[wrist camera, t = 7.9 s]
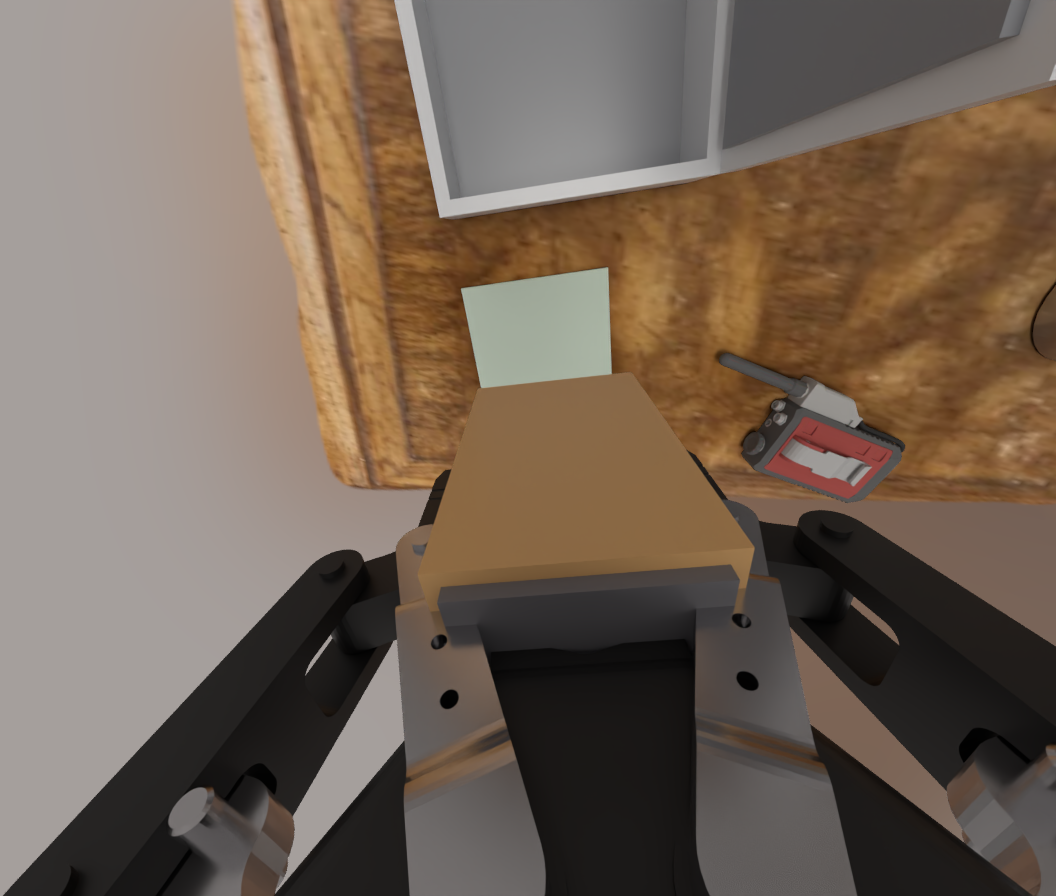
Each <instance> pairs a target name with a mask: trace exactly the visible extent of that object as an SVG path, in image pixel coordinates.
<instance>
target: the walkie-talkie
mask: <svg viewBox="0 0 1056 896" xmlns="http://www.w3.org/2000/svg"><path fill="white" fill-rule="evenodd" d="M719 363H720V364H721V365H723V366H726V367H728V368H731V369H733V370H736V371H738V372H741V373H743V374H746V375H748V376H751V377H753V378H756V379H758V380H761V381H763V382H766V383H768V384H771V385H773V386H776V387H778V388H781V389H783V390H784V392H785V393H787V394H789V396H788V397H787V398H784V399H781V400H780V401H778V400H775V401H774V402H773V403H772V405H771V407H772V408H773V409H774V410H773V411H772V412H771V414H770V415H769V416H768V418H767V419H766V420H765V422H764V423H763V424H762V426H761V427H760V429H759V430H758V431H757V432H752V433H750V434H749V435H748V436H747V437H746V439H745V440H744V444H743V449H744V450H743V452H742V453H741V454H742V456H743V458H744V459H745V460H746V461H747V462H748V463H749V464H750V465H751V467H752V468H753V469H754V470H756V471H759V472H761V473H764V474H767V475H770V476H773V477H775V478H778V479H781V480H784V481H786V482H789V483H792V484H797V485H798V486H802V487H803V488H807V489H809V490H810V489H811V490H812V491H816V492H818V493H821V494H823V495H827V496H828V497H829V496H830V497H832V498H836V499H837V500H841V501H842V502H843V501H844V502H846V503H849V502H856V501H860V500H863V499H864V498H865V497H866V496H867V495H868V494H869V493H870V492H871V491H872V490H873V489H874V488H875V487H876V486H877V485H878V484H879V483H880V482H881V481H882V480H883V479H884V478H885V477H886V476H887V475H888V474H889V473H890V472H891V471H892V470H893V469H894V468H895V467H896V465H897V464H898V463H899V462H900V461H901V457H902V455H901V452H903V451H904V449H905V444H904V443H903V442H902V441H901V440H899V439H897V438H895V437H892V436H890V435H887V434H885V433H883V432H880V431H878V430H875V429H873V428H870V427H868V426H866V425H864V423H863V421H862V419H863V418H861V417H859V416H858V412H857V408H856V404H855V402H854V400H853V399H851V398H849V397H847V396H846V395H844V394H842V393H840V392H837V391H835V390H833V389H830V388H828V387H826V386H824V385H823V384H821V383H819V382H817V381H816V380H814V379H812V378H809V377H807V376H803V377H802V378H801V380H798V379H795V378H791V379H790V378H788V377H785V376H783V375H781V374H778V373H776V372H773V371H771V370H769V369H766V368H764V367H761V366H759V365H756V364H754V363H752V362H749V361H747V360H744V359H742V358H740V357H737V356H735V355H732V354H730V353H724V354H722V355H721V356H720V358H719ZM891 441H892V442H894V443H895V444H894V443H892V442H891Z"/></svg>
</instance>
